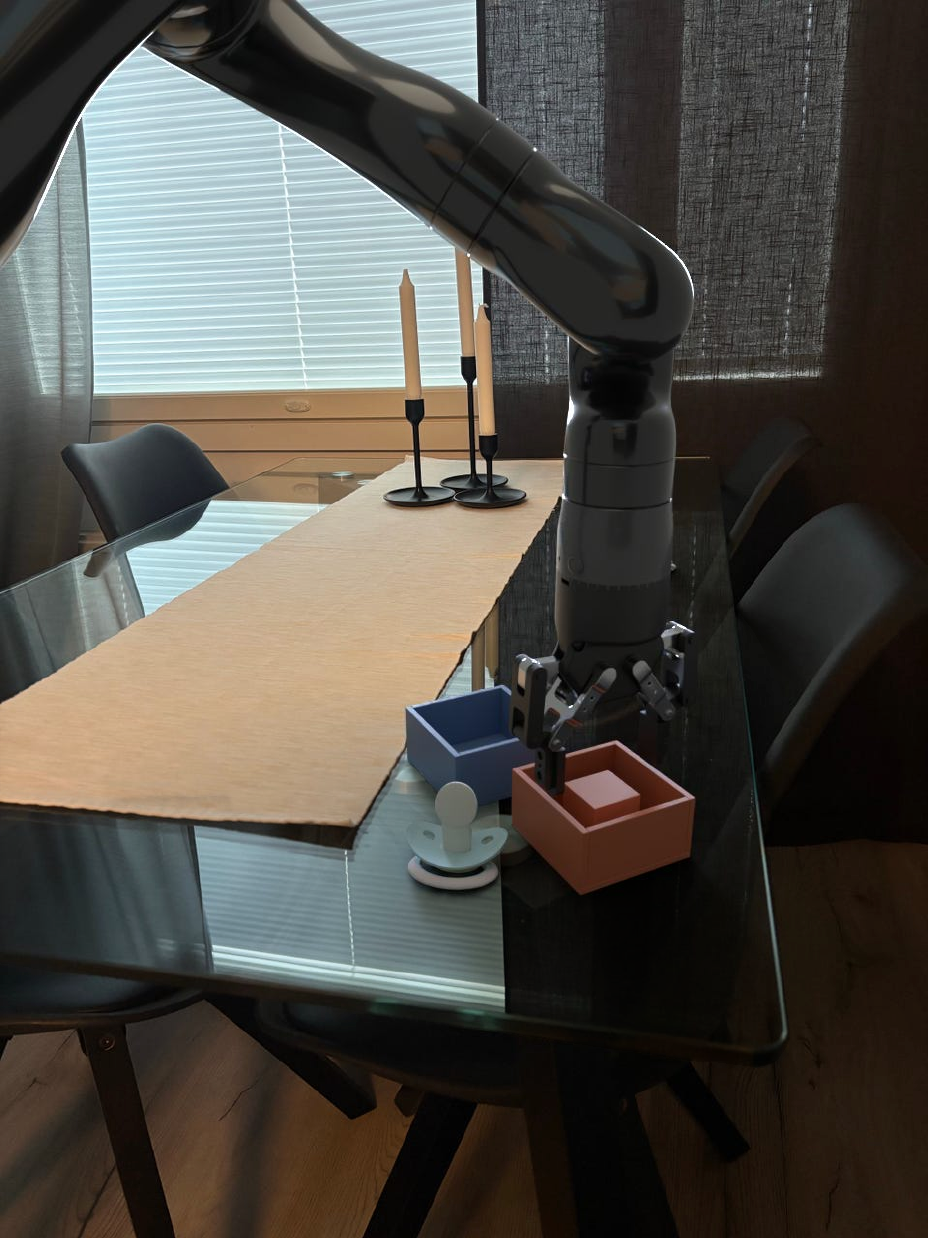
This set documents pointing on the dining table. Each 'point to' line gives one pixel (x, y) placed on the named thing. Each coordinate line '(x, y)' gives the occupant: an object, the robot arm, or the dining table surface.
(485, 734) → the blue bin
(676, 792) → the terracotta bin
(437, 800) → the pacifier
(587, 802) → the block
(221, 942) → the dining table surface
